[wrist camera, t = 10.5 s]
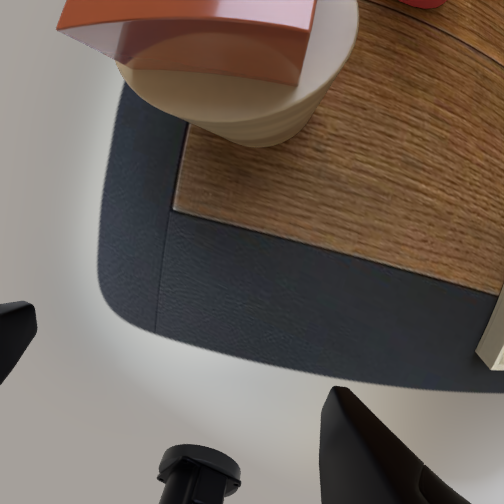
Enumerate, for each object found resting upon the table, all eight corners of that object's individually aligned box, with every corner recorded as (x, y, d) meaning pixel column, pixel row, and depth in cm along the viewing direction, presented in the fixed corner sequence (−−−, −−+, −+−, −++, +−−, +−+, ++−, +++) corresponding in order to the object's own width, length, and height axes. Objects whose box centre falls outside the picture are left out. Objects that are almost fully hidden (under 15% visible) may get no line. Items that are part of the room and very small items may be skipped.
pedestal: (271, 170, 19) (259, 177, 8) (179, 109, 18) (70, 58, 7) (337, 82, 17) (402, -6, 6) (244, 25, 16) (207, -92, 5)
